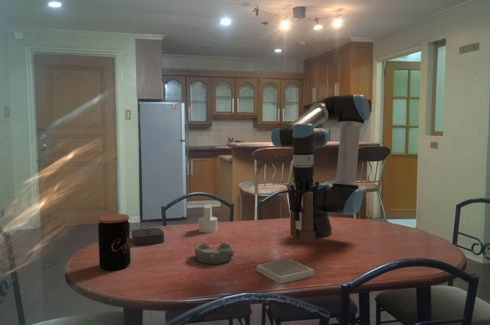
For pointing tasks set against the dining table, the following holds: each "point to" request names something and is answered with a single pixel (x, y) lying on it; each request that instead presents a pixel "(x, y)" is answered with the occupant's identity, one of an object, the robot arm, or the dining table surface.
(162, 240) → the streaming box
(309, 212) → the wooden block
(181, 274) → the dining table surface
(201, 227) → the base with upright slab
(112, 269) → the coffee jar
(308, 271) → the stand
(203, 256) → the dish
